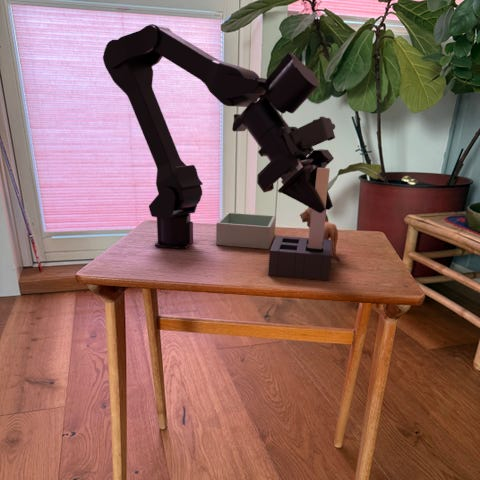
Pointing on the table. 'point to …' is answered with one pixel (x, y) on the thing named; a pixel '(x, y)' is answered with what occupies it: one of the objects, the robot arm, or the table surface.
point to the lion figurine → (329, 230)
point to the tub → (245, 230)
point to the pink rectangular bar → (316, 217)
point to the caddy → (300, 259)
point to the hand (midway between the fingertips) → (326, 209)
